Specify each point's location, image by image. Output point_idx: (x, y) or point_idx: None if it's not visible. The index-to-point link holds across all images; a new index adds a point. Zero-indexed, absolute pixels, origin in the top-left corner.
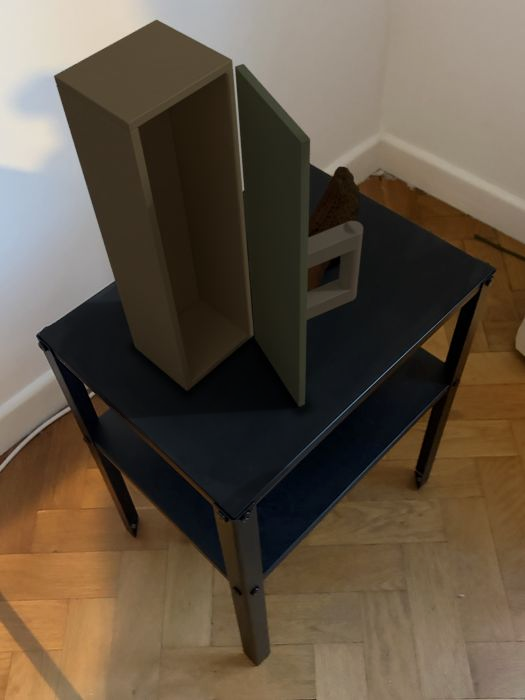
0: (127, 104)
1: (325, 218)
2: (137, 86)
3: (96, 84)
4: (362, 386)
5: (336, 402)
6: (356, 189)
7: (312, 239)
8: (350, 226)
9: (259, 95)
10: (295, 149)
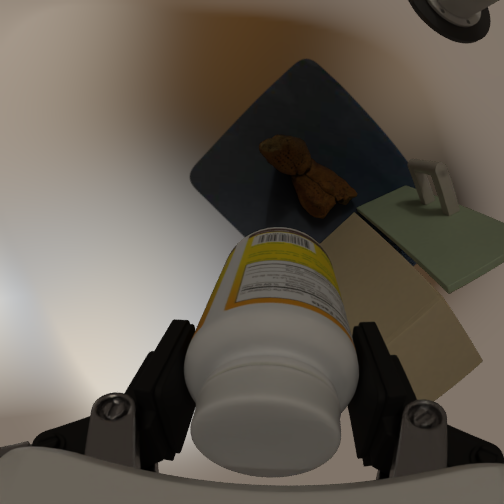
0: (465, 365)
1: (291, 161)
2: (450, 364)
3: (436, 389)
4: (395, 149)
5: (404, 166)
6: (278, 137)
7: (448, 201)
8: (440, 171)
9: (486, 272)
10: None
